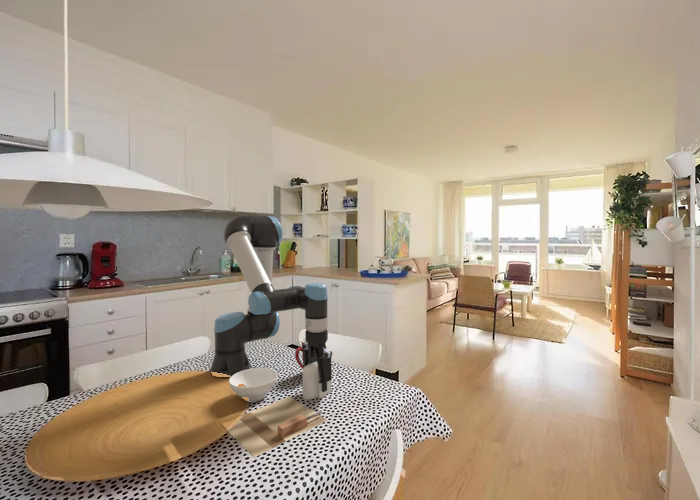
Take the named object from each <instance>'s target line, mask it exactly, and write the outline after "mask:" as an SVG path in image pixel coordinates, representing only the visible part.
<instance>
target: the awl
mask: <svg viewBox="0 0 700 500" xmlns="http://www.w3.org/2000/svg"><path fill="white" fill-rule="evenodd" d="M322 413H323V412H322V410H319V411H317V412H315V414H313V415H311V416H308V417H306V416H304V415H302V414H301V415H299V416H297V417H295V418H293V419H291V420H288V421H286V422H284V423H282V424H280V425H278V435H279V436H281V437H282V438H284V437H286V436H288V435H290V434H292V433H294V432H296V431H298V430H300V429H302V428H304V427H306V426H307V420H309V419H311V418H313V417H315V416H317V415H322Z"/></svg>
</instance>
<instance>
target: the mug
mask: <svg viewBox="0 0 700 500" xmlns="http://www.w3.org/2000/svg"><path fill="white" fill-rule="evenodd" d="M300 341H301V346H299V347H297V348H296V350H295V353H294V357H295V360H296V362H297V364H298V365H299V367H300V368H301V369H302V370H303V362H301V360H300V351H301V354H302V357H303V347H302V345H303V344H306V343H307V342H306V340H305V337H304V338H301V340H300ZM321 358H322V357H321Z"/></svg>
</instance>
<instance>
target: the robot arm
mask: <svg viewBox="0 0 700 500" xmlns="http://www.w3.org/2000/svg"><path fill="white" fill-rule="evenodd" d="M223 231H224V232H223V239H224V242H225V245H226V247H227V248H228V249H229V250H231V251H232V254H233V256H234V258H235V260H236V262H237V265H238V268H239V269H240V271H241V274H242V275H243V278H244V280H245V283H246V284H247V287H248V289H249V291H250V294H249V296H248V300H247V304H248V307H247V311H246V313H247V314H245V313H244V312H242V311H234V312H229V313H224V314H221V315H219V316H218V317H216V319H215V320H214V329H213V332H214V357H213V359H212V363H211V365H210V372H211V371H212V372H217V373H223V374H227V375H230V376H233V375H234V374H236V373H238V372H240V371H243V370H247V369H251V368H250V361H249V357H248V356H247V353H246V349H245V348H246V343H249V342H250V343H251V342H255V341H260V340H263V339H264V340H267V339H269V338H271V337H274V336H275V335H277V334H278V332H279V329H280V326H281V325H280V324H281V320H280V319H281V318H280V315H279V312H284V311H285V312H286V311H291V310H296V309H301V310H304V315H305V317H304V318H305V333H304V334H305V337H304V338H305V340H306V342H307V343H306V344H303V345H302V344H301V347H303V356H302V365H303V368H304V367H305V366H307V365H308V364H311V363H313V362H317V364H318V370H319V376H320V381H319V397H318V398H319V399H323V398H325V397H326V396H327V394H326V391H327V382H328V381H330V380H331V381H332V379H333V378H332V377H333V376H332V373H333V372H332V356H333V351H332V350H328V349H327V344H326V342H327V341H328V340H329V337H328V333H329V332H328V327H329V325H328V319H329V318H328V298H329V297H328V296H329V295H328V288H327V285H326V284H324V283H316V282H315V283H307V284H305V286H304V287H303V286H300V285H296V286H295V285H292V286H290V287H288V288H281V289H275V288H274V286H273V262H274V261H273V257H274V256H273V255H274V251H275V250H276V249H277V247H278V245H277V244H278V243H280V242H281V241H282V239H283V227H282V224H281V222H280V220H279V219H278V218H276V217H275V216H269V215H252V214H250V215H249V214H239V215H236V216H234V217H233V218H231V219H230V220H229V221H228V222H227V223H226V226H225V228H224V230H223ZM321 357H322V358H321Z"/></svg>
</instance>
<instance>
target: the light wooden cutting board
mask: <svg viewBox="0 0 700 500" xmlns="http://www.w3.org/2000/svg"><path fill="white" fill-rule="evenodd" d="M315 413H316V412H315V411H313V410H312V409H310V408H309V407H307V406H306V405H304V404H302V403H300V402H299V401H297V400H295V399H294V398H292V397H291V396H287V397H285V398H282V399H280V400H277V401H275V402H271V403H270V404H266V405H264V406H262V407H260V408H258V409H254V410H251V411H250V412H247V413H245V414H243V415H244V416H243V417H242V419H241V420H240V421H239V422H238V423H237V425H235V426H234V427H233V428H231V429H230V430H229V431H227V432H228V433H229V434H230V435H231V437H233V438H234V439H235V440H236V441H237V442H238V443H239V444H240V445H241V446H242V447H243V448H244V450H246V451H247V452H248V453H249V454H250V455H251V456H252V457H253V458H257V457H258V456H261V455H263V454H264V453H266V452H268V451H270V450H272V449H274V448H277V447H278V446H281V445H282V444H284V443H286V442H287V441H290V440H292V439H293V438H296V437H297V436H300V435H301V434H304V433H305V432H308V431H310V430H311V429H313V428H315V427H317V426H319V425H322V424H323V423H325V422H327V421H328V419H327V418H325V417H323V416H322V415H321V414H319V415H317V416H315V417H313V418H311V419H309V420H307V426H306V427H304V428H302V429H300V430H298V431H296V432H294V433H292V434H290V435H288V436H286V437H284V438H282V437H281V436H279V435H278V425H280V424H282V423H284V422H286V421H288V420H291V419H293V418H295V417H297V416H299V415H301V414H302V415H304V416H306V417H308V416H311V415H313V414H315Z"/></svg>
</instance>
